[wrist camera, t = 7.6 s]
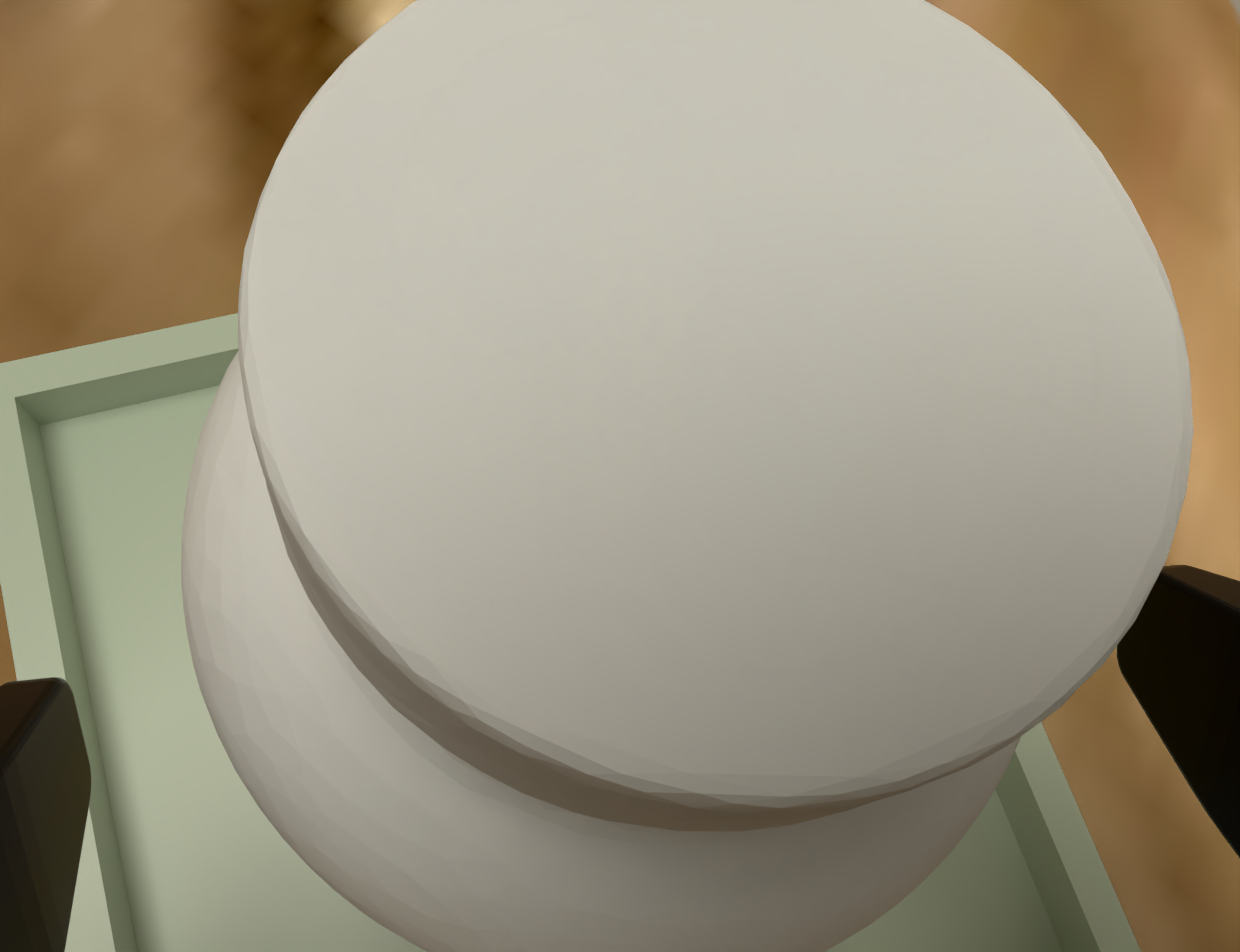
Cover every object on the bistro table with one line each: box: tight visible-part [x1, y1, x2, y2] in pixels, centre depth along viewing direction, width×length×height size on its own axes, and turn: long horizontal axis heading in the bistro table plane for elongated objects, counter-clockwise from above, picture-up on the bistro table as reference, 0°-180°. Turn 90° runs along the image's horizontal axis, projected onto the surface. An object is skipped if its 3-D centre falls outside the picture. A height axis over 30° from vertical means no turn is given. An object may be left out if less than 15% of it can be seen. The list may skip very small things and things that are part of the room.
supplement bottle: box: [181, 0, 1193, 952], centre depth 11 cm, size 7×7×13 cm
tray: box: [0, 313, 1141, 952], centre depth 17 cm, size 14×14×2 cm
